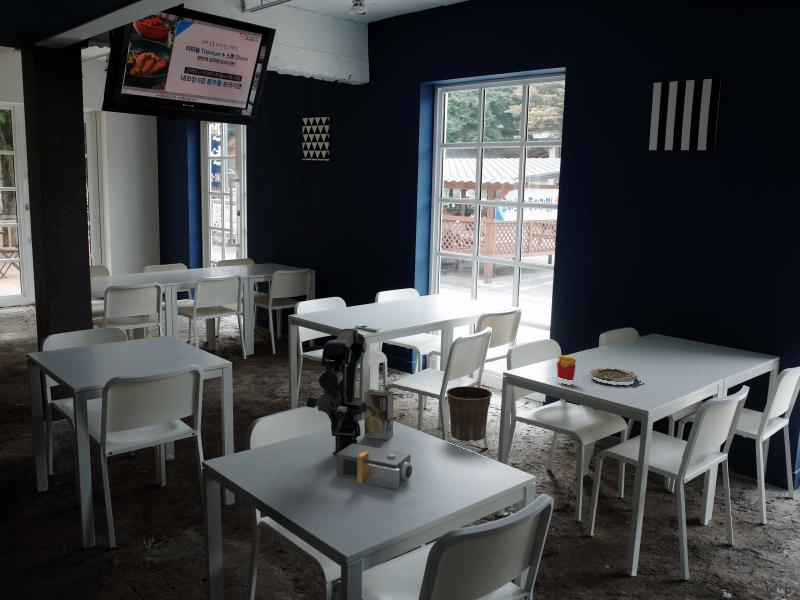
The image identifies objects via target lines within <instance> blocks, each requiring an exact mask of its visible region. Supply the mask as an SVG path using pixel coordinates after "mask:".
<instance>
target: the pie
mask: <svg viewBox="0 0 800 600" xmlns="http://www.w3.org/2000/svg"><path fill="white" fill-rule="evenodd" d="M589 375H590V377H591V376H593V377H596V378H599V379H602V380H607V381H615V382H631V381H637V380H636V379H637V378H638V374H637V373H636V372H633V371H630V370H627V369H622V368H620V369H619V368H611V367H610V368H609V367H605V368H603V367H602V368H601V367H599V368H597V367H596V368H594V369H591V370H590V371H589Z"/></svg>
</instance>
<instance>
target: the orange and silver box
mask: <svg viewBox="0 0 800 600" xmlns="http://www.w3.org/2000/svg"><path fill="white" fill-rule="evenodd" d="M399 475H400V469H396V468H391V467H386V466H381V465H376V464H371V463H369V452H362V453H361V454H359V455H358V456H357V480H356V483H359V484H363V483H364V484H369V485H372V486H378V487H383V488H388V489H391V490H392V489H393V490H397V491H398V490H400V485H399Z"/></svg>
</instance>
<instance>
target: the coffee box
mask: <svg viewBox="0 0 800 600" xmlns="http://www.w3.org/2000/svg"><path fill="white" fill-rule="evenodd" d="M363 397H364V398H363V399H364V401H363V402H365V403H366V404H367V411H365V412H363V414H364V438H367V437H368V439H376V440H384V441H389V440H390V439H391V438H392V437H393V436H394V391H390V390H381V389H374V388H373V389H368V390H366V392H365V393H364V396H363Z"/></svg>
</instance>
